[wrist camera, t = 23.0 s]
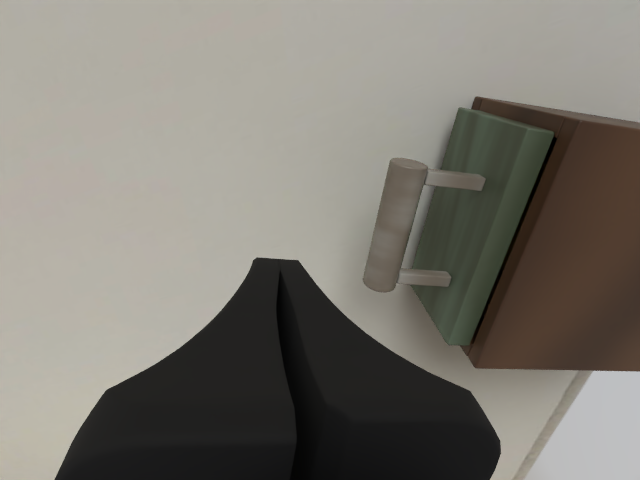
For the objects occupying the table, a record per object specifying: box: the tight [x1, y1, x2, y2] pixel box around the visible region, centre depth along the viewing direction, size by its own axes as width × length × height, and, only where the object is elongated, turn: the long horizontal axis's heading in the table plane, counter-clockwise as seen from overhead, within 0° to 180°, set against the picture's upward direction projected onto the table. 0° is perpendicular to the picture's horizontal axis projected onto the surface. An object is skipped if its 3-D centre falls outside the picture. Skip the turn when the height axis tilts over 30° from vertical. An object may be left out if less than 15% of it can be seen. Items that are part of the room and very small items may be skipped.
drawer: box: [363, 108, 557, 346], centre depth 20 cm, size 17×10×6 cm, turn 81°
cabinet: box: [460, 97, 640, 371], centre depth 20 cm, size 14×12×8 cm
